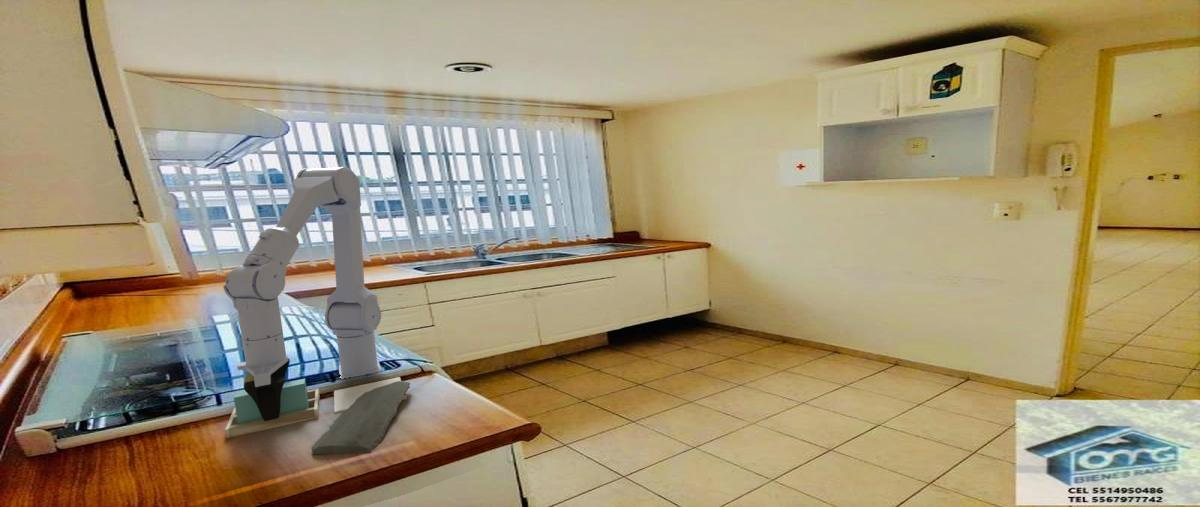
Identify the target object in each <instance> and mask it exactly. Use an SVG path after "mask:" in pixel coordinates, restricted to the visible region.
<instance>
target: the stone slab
mask: <svg viewBox="0 0 1200 507" xmlns="http://www.w3.org/2000/svg"><path fill="white" fill-rule="evenodd" d="M410 385H411V382H408V381H402V380H401V381H397V382H394V383H391V384H388V385H385V386H381V387H377V388H375V389H372V390H371V391H369V392H365V393H364V394H363V395H361V396H360V397H358V398H357V399H356V401H355V402H354V403H353V404H352V405H351V406H350V407H349V409H348V410H346V411H343V412H341V414H340V415H339V416H338V417H337V418H336V419H335V420H334V421H333V423H332V424H331V425H329V427H328V429H327V431H325V432H324V433H323V434H321V436H320V437H319V438H318V439H317V441H316V442H315V443H314V444H313V446H311V453H312V454H316V455H336V454H352V453H367V454H371V453H372V450H373V449H375V448H378V446H379V445H380V443H382V441H383V439H384V438H385V434H386V431H387V429H388V428H389V426H390V423H391V421H392V419H393V418H394V416H395V415H396V414H397V412H398V411H397V410H398V408H399V405H400V404H401V403H402V401H404V400H403V398H404V395H405V393H406V394H407V392H408V390H409V389H410V388H411V386H410Z"/></svg>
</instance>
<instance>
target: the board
mask: <svg viewBox="0 0 1200 507" xmlns="http://www.w3.org/2000/svg"><path fill="white" fill-rule="evenodd" d="M307 391H308V390H307V384H306V378H302V379H301V378H300V379H296V380H291V381H285V383H284V385H283V388H282V391H281V405H280V415H281V414H286V413H290V412H295V411H299V410H304V409H308V408H309V403H308V396H307ZM233 400H234V401H233V403H234V408H235V409H236V415H237V421H238V424H241V423H246V422H250V421H255V420H259V419H263V418H262V416H261V414H260V412H259V409H258V407H257V405H256V403H255V401H254V400H253V399H252V397H251V396H250V395H249V394H248V393H247V392H246V391H245V390H244V389H243V390H240V391H236V392H235V393H234V396H233Z"/></svg>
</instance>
